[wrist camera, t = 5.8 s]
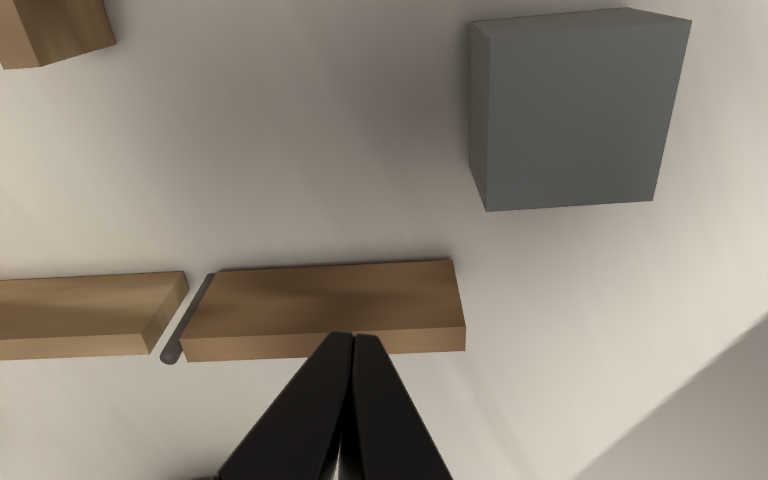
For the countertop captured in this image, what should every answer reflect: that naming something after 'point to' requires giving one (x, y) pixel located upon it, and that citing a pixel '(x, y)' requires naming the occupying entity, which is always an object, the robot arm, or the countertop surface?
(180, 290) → the corral
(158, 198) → the countertop surface
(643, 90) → the block
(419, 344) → the gate
